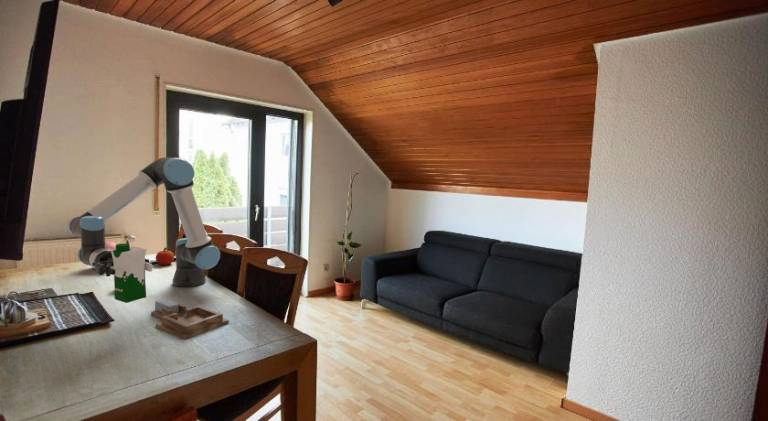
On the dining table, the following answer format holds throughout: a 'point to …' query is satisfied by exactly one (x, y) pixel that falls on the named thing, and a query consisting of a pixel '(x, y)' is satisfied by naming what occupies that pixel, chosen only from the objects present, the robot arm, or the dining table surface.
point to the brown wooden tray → (189, 320)
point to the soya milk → (129, 273)
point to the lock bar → (166, 305)
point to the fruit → (164, 257)
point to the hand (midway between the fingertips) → (136, 270)
